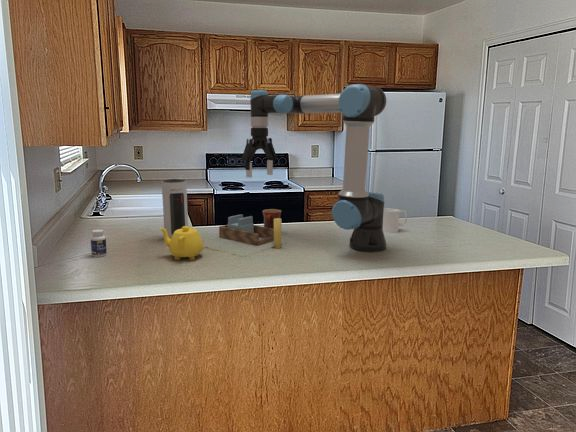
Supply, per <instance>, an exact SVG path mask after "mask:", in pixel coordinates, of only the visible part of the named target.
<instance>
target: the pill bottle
mask: <svg viewBox="0 0 576 432" xmlns="http://www.w3.org/2000/svg"><path fill="white" fill-rule="evenodd" d="M91 232H92V235H91V237H90V246H91V249H90V250H91V256H92V257H95V258H102V257H106V256H107V253H108V252H107V238H106V235H104V229H93V230H92V231H91Z"/></svg>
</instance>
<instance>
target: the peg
mask: <svg viewBox="0 0 576 432" xmlns="http://www.w3.org/2000/svg"><path fill="white" fill-rule="evenodd" d="M282 224H283V223H282V218H281V217H280V218H275V219H274V241H273V248H274V249H278V250H279V249H281V248H282V230H283V229H282Z"/></svg>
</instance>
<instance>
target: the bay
mask: <svg viewBox="0 0 576 432" xmlns="http://www.w3.org/2000/svg"><path fill="white" fill-rule="evenodd" d="M218 231H219V232H218V233H219V234H218V235H219V238H221V239H226V240H230V241H234V242H239V243H243V244H248V245H251V246H257V247H258V246H261V245H265V244H268V243H272V242H274V229H272V228H266V227H264V226H261V225H257V224H256V225H255V224H254V233H251V232H246V231H242V230H237V229H232V228H227V224H224V225H220V226H219V227H218ZM259 238H261V239H259Z"/></svg>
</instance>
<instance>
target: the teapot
mask: <svg viewBox="0 0 576 432" xmlns="http://www.w3.org/2000/svg"><path fill="white" fill-rule="evenodd" d="M158 228H159V229H160V230H161V231H162V233H163V241H164V243H165V245H166V246H167V247H168V250H169V252H170V254H171V255H172V256H173V257H174V259H173V260H175V261H176V260H180V259H181V258H188V260H189V261H195V260H196V257H197V256H199V255H200V254H201V253H202V251H203V249H204V243H203V240H202V237H201V235H200V233H199V231H198V230H197V229H196V228H193V227H192V226H191V227H190V226H189V225H188V226H183V227H182V229H178V230H176V231H175V232H174V233H173V236H172V238H171V239H170V238H169V237H168V233H167V230H166V229H164V227H160V226H159V227H158Z"/></svg>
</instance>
